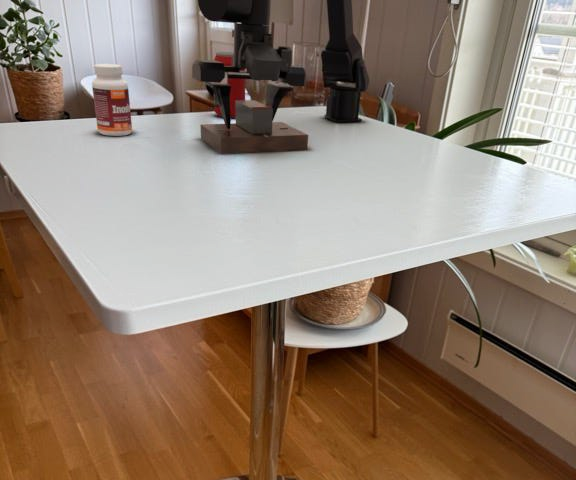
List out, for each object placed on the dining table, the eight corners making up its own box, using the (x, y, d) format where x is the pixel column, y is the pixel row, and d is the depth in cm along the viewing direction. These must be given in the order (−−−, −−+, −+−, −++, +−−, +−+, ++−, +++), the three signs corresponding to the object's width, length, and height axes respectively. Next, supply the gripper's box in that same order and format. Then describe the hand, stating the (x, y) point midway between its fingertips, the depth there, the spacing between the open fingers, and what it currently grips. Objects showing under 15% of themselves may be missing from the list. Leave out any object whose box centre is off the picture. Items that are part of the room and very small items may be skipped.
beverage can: (215, 112, 127) (213, 51, 120) (245, 114, 127) (245, 52, 120) (213, 118, 121) (211, 53, 114) (244, 119, 122) (244, 55, 115)
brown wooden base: (279, 135, 109) (280, 120, 108) (308, 150, 99) (309, 134, 98) (200, 138, 104) (199, 122, 102) (222, 154, 94) (221, 137, 92)
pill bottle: (118, 138, 101) (110, 68, 95) (90, 133, 103) (81, 64, 96) (139, 132, 106) (133, 65, 99) (112, 128, 107) (104, 62, 101)
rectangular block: (235, 124, 103) (235, 98, 100) (254, 124, 104) (254, 98, 102) (252, 134, 96) (253, 107, 94) (272, 133, 97) (273, 106, 95)
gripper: (210, 21, 82) (210, 137, 90) (325, 31, 88) (315, 138, 97) (190, 19, 90) (192, 125, 98) (296, 28, 97) (289, 126, 105)
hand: (248, 128), depth 100 cm, fingers open, 7 cm apart
